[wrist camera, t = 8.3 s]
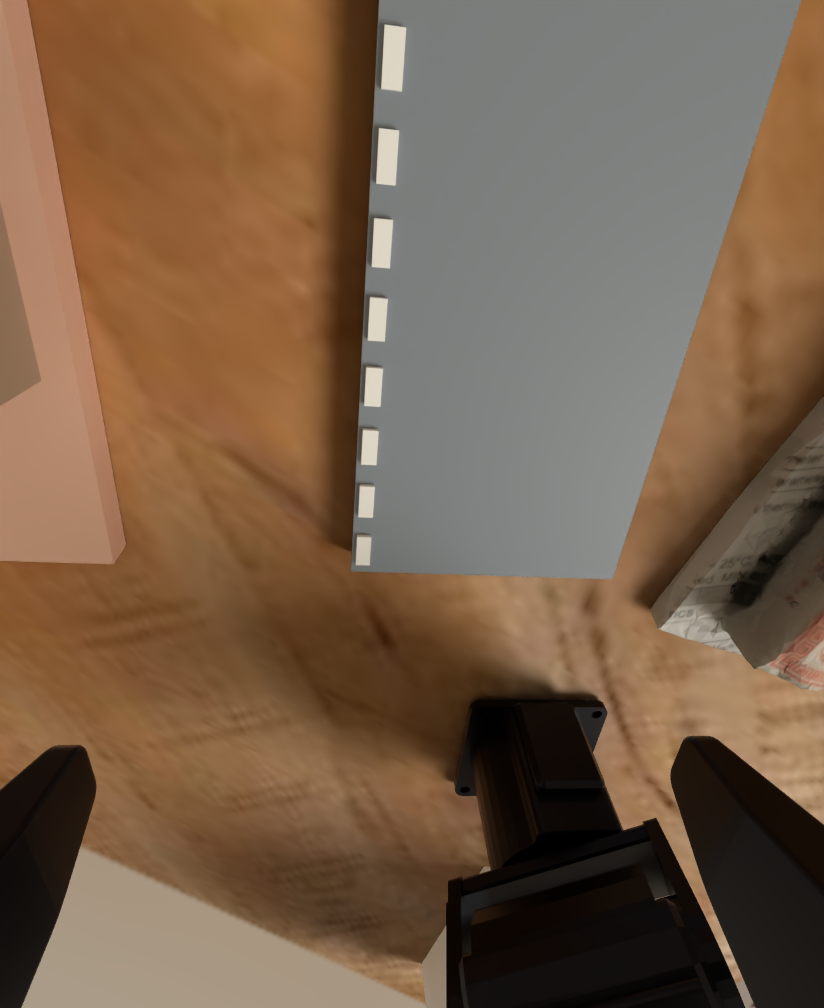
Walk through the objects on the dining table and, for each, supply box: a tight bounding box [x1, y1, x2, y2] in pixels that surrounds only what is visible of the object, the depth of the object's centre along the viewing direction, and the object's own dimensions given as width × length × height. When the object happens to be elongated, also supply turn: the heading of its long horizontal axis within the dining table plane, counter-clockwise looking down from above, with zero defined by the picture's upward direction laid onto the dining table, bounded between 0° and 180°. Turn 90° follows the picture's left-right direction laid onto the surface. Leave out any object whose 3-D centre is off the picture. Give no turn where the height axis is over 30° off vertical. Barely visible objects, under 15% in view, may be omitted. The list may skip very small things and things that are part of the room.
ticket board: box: [351, 0, 801, 579], centre depth 17 cm, size 18×10×1 cm, turn 175°
